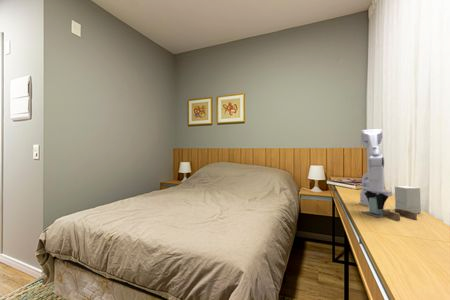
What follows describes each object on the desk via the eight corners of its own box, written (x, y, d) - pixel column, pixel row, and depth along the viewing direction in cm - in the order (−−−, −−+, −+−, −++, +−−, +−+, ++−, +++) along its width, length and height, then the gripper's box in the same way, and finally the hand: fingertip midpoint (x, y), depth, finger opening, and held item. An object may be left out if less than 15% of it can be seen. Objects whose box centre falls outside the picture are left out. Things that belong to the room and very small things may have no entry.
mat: (360, 212, 105) (360, 211, 105) (376, 211, 107) (376, 210, 107) (376, 217, 96) (376, 216, 96) (392, 216, 98) (392, 215, 98)
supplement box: (421, 213, 103) (421, 188, 103) (406, 213, 103) (406, 188, 103) (408, 209, 110) (408, 185, 111) (394, 209, 111) (394, 185, 111)
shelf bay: (382, 215, 99) (382, 209, 99) (400, 214, 101) (400, 208, 101) (398, 220, 92) (398, 214, 92) (416, 219, 93) (416, 212, 93)
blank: (369, 211, 103) (369, 197, 103) (376, 211, 104) (375, 197, 104) (376, 213, 99) (376, 199, 99) (383, 213, 100) (383, 199, 100)
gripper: (357, 178, 108) (357, 204, 108) (382, 182, 94) (382, 212, 94) (368, 178, 109) (369, 204, 109) (395, 182, 95) (395, 211, 95)
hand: (376, 207), depth 101 cm, fingers closed on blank, 4 cm apart
